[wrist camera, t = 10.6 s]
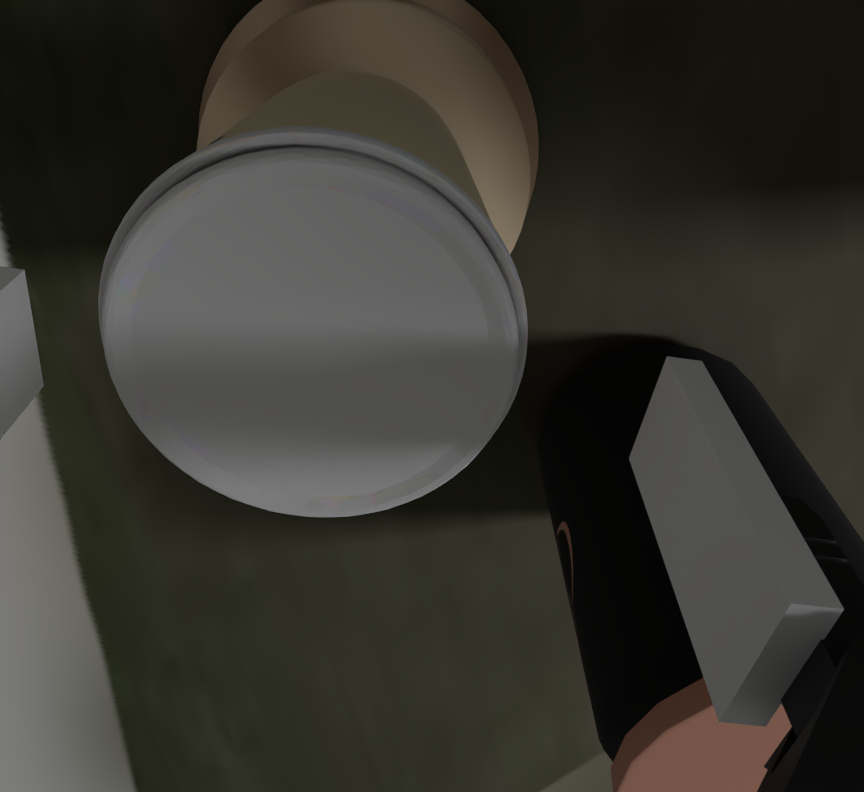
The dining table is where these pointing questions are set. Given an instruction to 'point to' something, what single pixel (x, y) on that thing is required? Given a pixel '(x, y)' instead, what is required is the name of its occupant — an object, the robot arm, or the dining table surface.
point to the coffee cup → (317, 304)
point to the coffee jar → (655, 576)
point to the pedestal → (398, 60)
